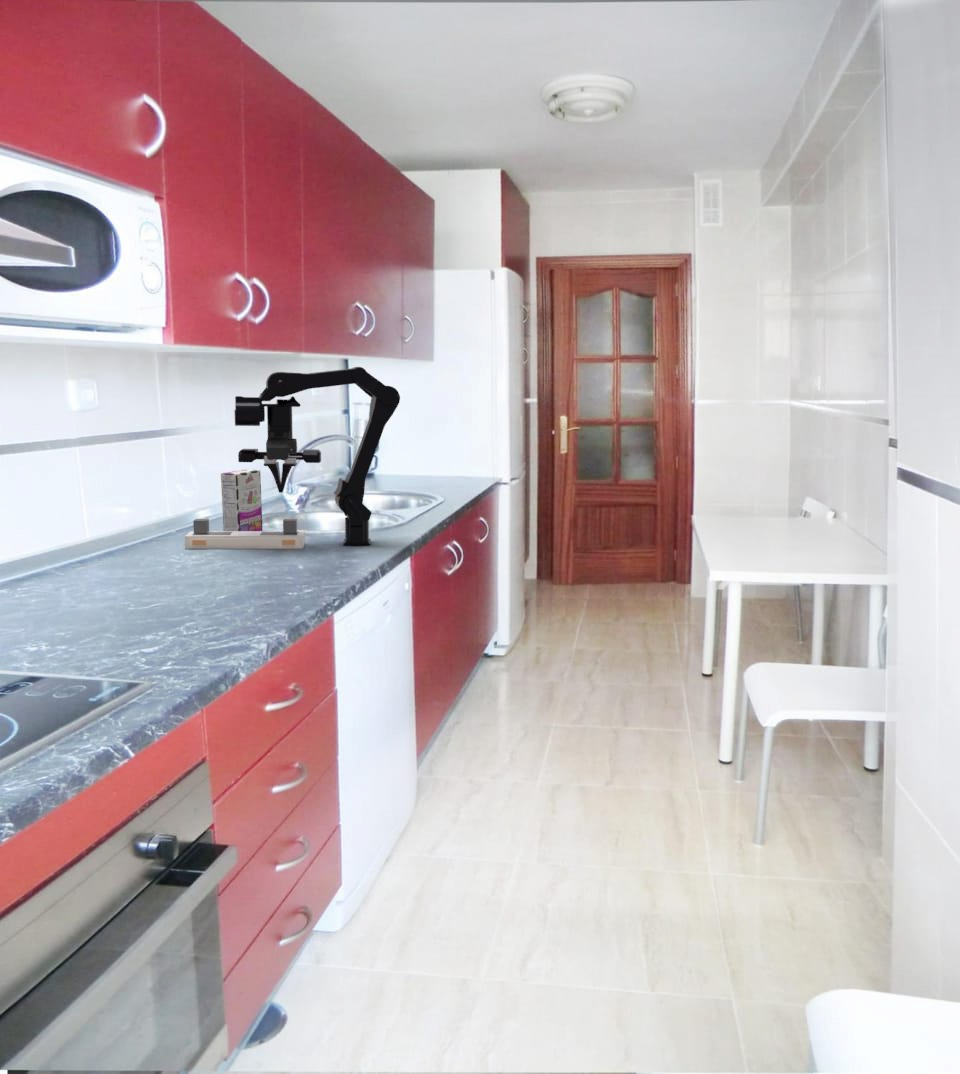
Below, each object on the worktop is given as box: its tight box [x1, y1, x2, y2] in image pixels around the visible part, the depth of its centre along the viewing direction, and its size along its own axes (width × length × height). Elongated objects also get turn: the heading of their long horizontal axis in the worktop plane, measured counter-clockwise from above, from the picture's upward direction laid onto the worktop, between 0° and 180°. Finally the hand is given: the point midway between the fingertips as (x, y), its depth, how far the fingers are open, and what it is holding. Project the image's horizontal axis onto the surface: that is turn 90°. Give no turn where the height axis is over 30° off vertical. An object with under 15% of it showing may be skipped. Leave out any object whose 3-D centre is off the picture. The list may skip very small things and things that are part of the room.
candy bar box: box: [220, 468, 264, 531], centre depth 234 cm, size 11×5×16 cm, turn 162°
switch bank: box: [184, 530, 306, 550], centre depth 220 cm, size 7×27×3 cm, turn 96°
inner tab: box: [282, 518, 298, 533], centre depth 221 cm, size 3×3×3 cm
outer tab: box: [193, 518, 210, 533], centre depth 219 cm, size 3×3×3 cm
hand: (281, 492), depth 220 cm, fingers closed
